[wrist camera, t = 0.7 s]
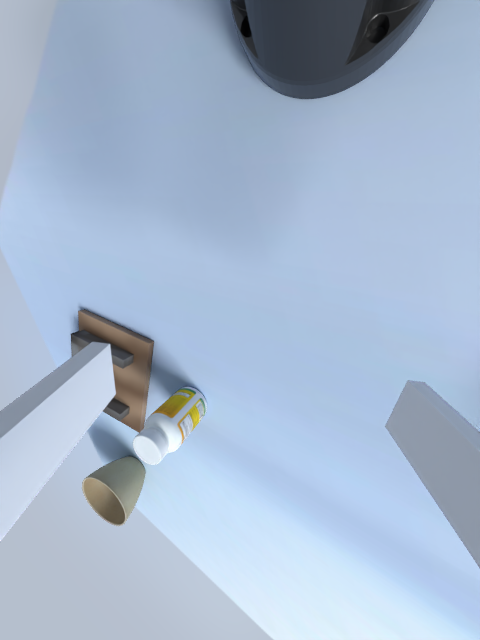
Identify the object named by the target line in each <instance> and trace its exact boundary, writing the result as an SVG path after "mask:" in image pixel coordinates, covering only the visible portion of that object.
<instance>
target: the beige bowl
mask: <svg viewBox="0 0 480 640" xmlns="http://www.w3.org/2000/svg"><path fill="white" fill-rule="evenodd" d="M144 478H145V469H144V467H143V465H142V463H141V462H140V461H139V460H138V459H136V458H134V457H131V456H128V457H124V458H121V459H118V460H115V461H113V462H111V463H109V464H107V465H105V466H103V467H101V468H99V469H98V470H96V471H95V472H93V473H92V474H90V475H89V476H88V477H86V478H85V479H84V480H83V482H82V490H83V493H84V496H85V498H86V500H87V502H88V503H89V504H90V506H91V507H92V508H93V510H94V511H95V512H96V513H97V514H98V515H99V516H100V517H101V518H102V519H104V520H105V521H107V522H108V523H110V524H113V525H116V526H121V525H123V524H124V523H125V522H126V521H127V519H128V517H129V516H130V514H131V512H132V510H133V508H134V506H135V504H136V502H137V500H138V498H139V495H140V492H141V489H142V486H143V483H144Z"/></svg>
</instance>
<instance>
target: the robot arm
mask: <svg viewBox="0 0 480 640" xmlns="http://www.w3.org/2000/svg"><path fill="white" fill-rule="evenodd" d="M433 1H434V0H230V2H231V8H232V14H233V18H234V22H235V26H236V29H237V32H238V35H239V38H240V40H241V43H242V45H243V47H244V50H245V52H246V54H247V56H248V59H249V61H250V63H251V65H252V66H253V68H254V70H255V71H256V73H257V74H258V75H259V77H260V78H261V79H262V80H263V81H264V82H265V83H266V84H267V85H268V86H270V87H271V88H272V89H274V90H275V91H277V92H279V93H281V94H284V95H286V96H289V97H293V98H299V99H314V98H321V97H326V96H330V95H333V94H336V93H339V92H341V91H343V90H346V89H348V88H350V87H352V86H353V85H355V84H357V83H359V82H360V81H362V80H363V79H365V78H366V77H368V76H369V75H371V74H372V73H373V72H375V71H376V70H377V69H378V68H380V67H381V66H382V65H383V64H384V63H385V62H386V61H387V60H389V59H390V58H391V57H392V56H393V55H394V54H395V53H396V52H397V50H398V49H399V48H400V47H401V46H402V45H403V44H404V43H405V42H406V40H407V39H408V38H409V37H410V35H411V34H412V33H413V32H414V30H415V29H416V27H417V26H418V25H419V23H420V22H421V20H422V19H423V17H424V16H425V14H426V13H427V11H428V10H429V8H430V6H431V5H432V3H433ZM115 395H116V390H115V382H114V373H113V365H112V356H111V347H110V344H107V343H99V342H91V343H90V344H89V345H87V346H86V347H85V348H84V349H82V350H81V351H80V352H78V353H77V354H76V355H74V356H73V357H72V358H70V359H69V360H68V361H66V362H65V363H64V364H62V365H61V366H60V367H58V368H57V369H56V370H54V371H53V372H52V373H50V374H49V375H48V376H46V377H45V378H44V379H42V380H41V381H40V382H39V383H37V384H36V385H34V386H33V387H32V388H30V389H29V390H28V391H26V392H25V393H24V394H22V395H21V396H20V397H18V398H17V399H16V400H14V401H13V402H12V403H11V404H9V405H8V406H7V407H5V408H4V409H3V410H1V411H0V541H1V540H2V539H3V538H4V536H5V535H6V534H7V532H8V531H9V530H10V529H11V527H12V526H13V525H14V523H15V522H16V521H17V520H18V518H19V517H20V516H21V515H22V513H23V512H24V510H25V509H26V508H27V507H28V505H29V504H30V503H31V502H32V500H33V499H34V498H35V497H36V495H37V494H38V493H39V492H40V490H41V489H42V488H43V486H44V485H45V484H46V483H47V481H48V480H49V479H50V477H51V476H52V475H53V473H54V472H55V471H56V470H57V469H58V467H59V466H60V464H61V463H62V462H63V461H64V460H65V458H66V457H67V456H68V454H69V453H70V452H71V450H72V449H73V448H74V447H75V445H76V444H77V443H78V442H79V440H80V439H81V438H82V437H83V435H84V434H85V433H86V432H87V430H88V429H89V428H90V426H91V425H92V424H93V423H94V421H95V420H96V419H97V418H98V416H99V415H100V414H101V412H102V411H103V410H104V409H105V407H106V406H107V405H108V403H109V402H110V401H111V400H112V398H113V397H114V396H115ZM385 427H386V428H387V430H388V431H389V433H390V434H391V436H392V437H393V439H394V440H395V442H396V443H397V445H398V446H399V448H400V449H401V451H402V452H403V454H404V455H405V457H406V458H407V460H408V461H409V463H410V464H411V466H412V467H413V469H414V470H415V472H416V473H417V475H418V476H419V478H420V479H421V481H422V482H423V484H424V485H425V487H426V488H427V490H428V491H429V493H430V494H431V496H432V497H433V499H434V500H435V502H436V503H437V505H438V506H439V508H440V509H441V511H442V512H443V514H444V515H445V517H446V518H447V520H448V521H449V523H450V524H451V526H452V527H453V529H454V530H455V532H456V533H457V535H458V536H459V538H460V539H461V541H462V542H463V544H464V545H465V547H466V548H467V550H468V551H469V553H470V554H471V556H472V557H473V559H474V560H475V562H476V563H477V565H478V566H479V568H480V432H479V431H478V430H477V429H476V428H475V427H474V426H472V425H471V424H470V423H469V422H468V421H467V420H466V419H465V418H464V417H463V416H461V415H460V414H459V413H458V412H457V411H456V410H455V409H454V408H453V407H452V406H450V405H449V404H448V403H447V402H446V401H445V400H444V399H443V398H442V397H440V396H439V395H438V394H437V393H436V392H435V391H434V390H433V389H432V388H431V387H429V386H428V385H427V384H426V383H425V382H418V381H410V380H408V381H407V383H406V385H405V387H404V389H403V391H402V393H401V395H400V397H399V399H398V401H397V403H396V405H395V407H394V409H393V411H392V413H391V415H390V417H389V419H388V421H387V423H386V425H385Z"/></svg>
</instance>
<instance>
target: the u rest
mask: <svg viewBox="0 0 480 640" xmlns="http://www.w3.org/2000/svg"><path fill="white" fill-rule="evenodd" d="M78 316H79V331H78V332H75V333H72V334H71V350H72V357H73V356H74V355H76V354H77V353H78V352H80V351H81V350H82V349H84V348H85V347H86V346H87V345H89V344H90V343H91V342H99V343H107V344H110V347H111V356H112V365H113V373H114V382H115V390H116V395H115V396H114V397H113V398H112V400H111V401H110V402H109V403H108V405H107V406H106V407H105V409H104V410H103V412H105V413H107V414H108V415H110V416H112V417H113V418H115V419H117V420H118V421H120V422H122V423H124V424H125V425H127V426H129V427H131V428H132V429H134V430H136V431H137V432H139V433H140V432H141V431H142V430H143V429H144V422H145V414H146V405H147V396H148V388H149V379H150V370H151V362H152V353H153V344H154V341H152V340H150V339H148V338H146V337H143V336H141V335H139V334H137V333H135V332H133V331H130V330H128V329H126V328H124V327H122V326H119V325H117V324H115V323H113V322H111V321H109V320H106V319H104V318H102V317H100V316H98V315H95V314H93V313H91V312H89V311H87V310H85V309H84V310H80V311H78Z"/></svg>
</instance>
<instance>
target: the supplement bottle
mask: <svg viewBox="0 0 480 640" xmlns="http://www.w3.org/2000/svg"><path fill="white" fill-rule="evenodd" d="M206 411H207V402H206V400H205V398H204V396H203V395H202V394H201V393H200V392H199V391H198V390H197V389H195V388H192V387H183V388H181V389H179V390H178V391H177V392H176V393H175V394H174V395H172V396H171V397H170V398H169V399H168V400H167V401H166V402H165V403H164V404H162V405H161V406H160V407H159V408H158V409H157V410H156V411H155V412H154V413H152V414H151V415H150V416H149V417H148V419H147V420H146V422H145V426H144V429H143V430H142V431H141V432H140V433H139V434H138V435H137V436H136V437H135V438H134V440H133V447H134V450H135V452H136V454H137V455H138V456H139V458H140V459H142V460H143V461H144V462H146V463H148V464H150V465H156V464H158V463H159V462H160V461H161V460H162V459H163V458H164V457H165V456H166V454H167V453H170V452H173V451H175V450H177V449H178V448H179V447H180V446H181V444H182V443H183V442H184V441H185V439H186V438H187V437H188V435H189V434H190V433H191V432H192V430H193V429H194V428H195V427H196V425H197V424H198V423H199V421H200V420H201V419H202V418H203V416H204V415H205V413H206Z"/></svg>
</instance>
